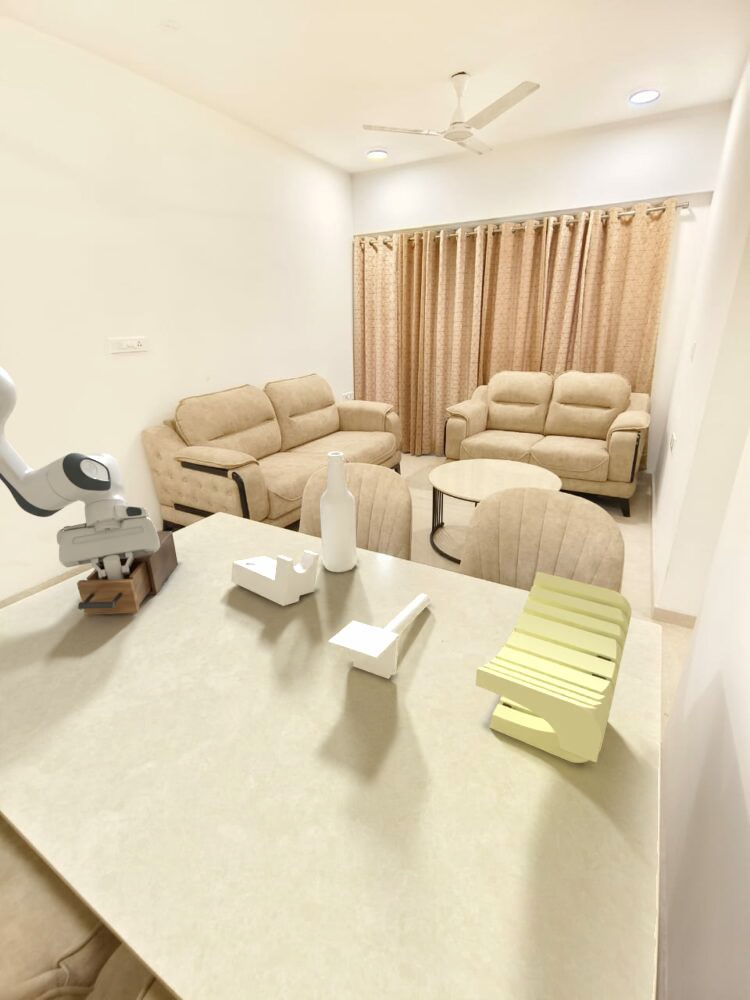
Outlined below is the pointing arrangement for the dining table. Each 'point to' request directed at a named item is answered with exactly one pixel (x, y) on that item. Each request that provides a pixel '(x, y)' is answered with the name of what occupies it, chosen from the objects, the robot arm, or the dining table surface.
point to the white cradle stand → (277, 576)
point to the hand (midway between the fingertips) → (115, 576)
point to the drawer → (115, 591)
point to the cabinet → (159, 561)
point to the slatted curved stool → (560, 668)
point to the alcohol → (338, 519)
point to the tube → (113, 567)
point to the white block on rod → (378, 640)
